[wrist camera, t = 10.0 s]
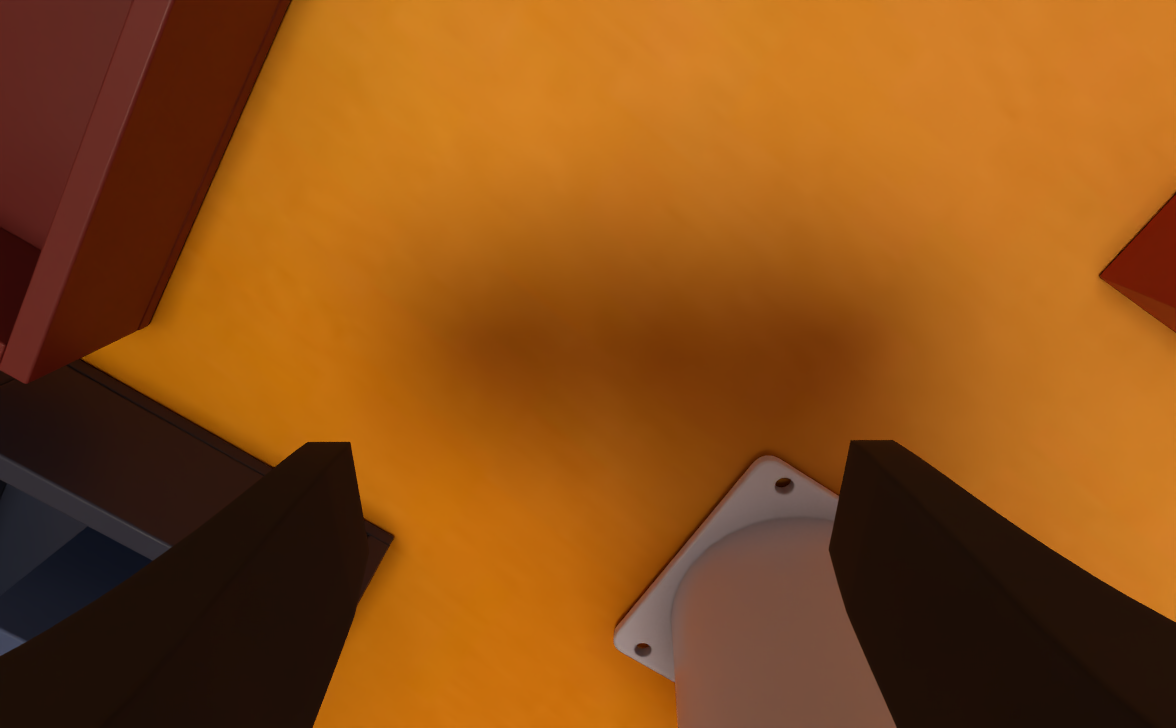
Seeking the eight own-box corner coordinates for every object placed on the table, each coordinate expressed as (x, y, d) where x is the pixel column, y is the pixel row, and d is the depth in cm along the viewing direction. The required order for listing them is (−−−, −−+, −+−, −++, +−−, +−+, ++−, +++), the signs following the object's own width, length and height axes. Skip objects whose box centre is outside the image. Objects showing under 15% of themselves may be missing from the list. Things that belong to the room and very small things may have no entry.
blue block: (230, 570, 23) (126, 693, 18) (183, 654, 24) (75, 789, 20) (110, 506, 23) (-28, 616, 18) (69, 595, 24) (-70, 719, 19)
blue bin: (395, 536, 23) (339, 637, 19) (249, 760, 27) (176, 886, 22) (46, 339, 21) (-100, 401, 17) (-57, 607, 25) (-198, 712, 21)
